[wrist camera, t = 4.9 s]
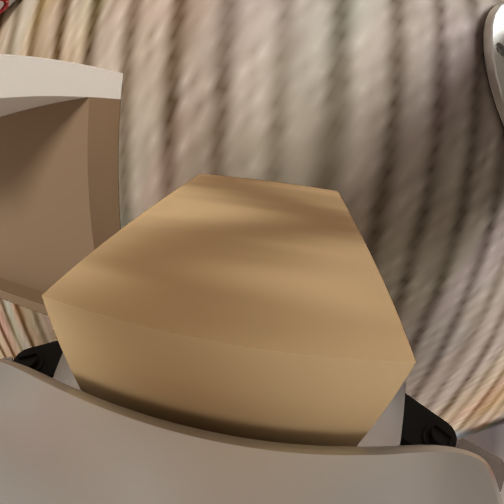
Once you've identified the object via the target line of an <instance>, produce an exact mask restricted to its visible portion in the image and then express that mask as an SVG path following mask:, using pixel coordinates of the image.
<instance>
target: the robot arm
mask: <svg viewBox="0 0 504 504" xmlns="http://www.w3.org/2000/svg"><path fill="white" fill-rule="evenodd" d="M483 44H484V56H485V64H486V70H487V74H488V79H489V83H490V88H491V91H492V94H493V97H494V101H495V104H496V108H497V110H498V113H499V115H500V118H501V120H502V123H503V126H504V2H502V3H500V4H497V5H495V6H494V7H493V8H492V9H491V10H490V11H489V13H488V16H487V18H486V20H485V26H484V33H483ZM405 387H406V383H405V381H404V382H403V384H402V386H401V387H400V389H399V390H398V392H397V393H396V395H395V396H394V398H393V399H392V400H391V402H390V403H389V405H388V406H387V408H386V409H385V410H384V412H383V413H382V414H381V416H380V417H379V419H378V420H377V421H376V422H375V424H374V425H373V426H372V428H371V429H370V430H369V432H368V433H367V434H366V435H365V437H364V438H363V439H362V440H361V441H360V443H359V444H358V445H357V446H356V447H350V446H316V445H301V444H289V443H279V442H271V441H263V440H256V439H249V438H243V437H237V436H231V435H225V434H220V433H215V432H210V431H206V430H201V429H197V428H193V427H189V426H184V425H181V424H177V423H173V422H169V421H166V420H162V419H159V418H155V417H152V416H149V415H146V414H142V413H139V412H136V411H133V410H130V409H127V408H124V407H121V406H119V405H116V404H113V403H111V402H108V401H105V400H103V399H100V398H98V397H95V396H93V395H90V394H88V393H85V392H83V391H81V389H80V387H79V385H78V383H77V381H76V379H75V377H74V375H73V373H72V371H71V369H70V367H69V365H68V363H67V360H66V358H65V356H64V354H63V351H62V349H61V347H60V344H59V342H58V341H55V342H51V343H47V344H44V345H40V346H36V347H32V348H29V349H26V350H24V351H22V352H21V353H19V354H18V355H17V356H16V357H15V359H13V358H12V357H8V358H2V359H0V504H503V503H502V498H501V494H500V491H501V489H502V485H503V482H504V463H503V461H502V460H501V459H500V458H499V457H497V456H496V455H494V454H491V453H490V452H488V451H486V450H484V449H482V448H480V447H479V446H476V445H475V444H473V443H471V442H469V441H467V440H465V439H464V438H461V439H460V440H457V437H456V434H455V431H454V430H453V428H452V427H451V426H450V425H449V424H448V423H447V422H445V421H444V420H443V419H441V418H440V417H438V416H437V415H435V414H434V413H433V412H431V411H430V410H428V409H427V408H425V407H424V406H423V405H421V404H420V403H418V402H417V401H416V400H414V399H413V398H411V397H410V396H409V395H407V394H406V393H405Z"/></svg>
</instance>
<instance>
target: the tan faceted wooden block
mask: <svg viewBox="0 0 504 504" xmlns="http://www.w3.org/2000/svg"><path fill="white" fill-rule="evenodd" d="M42 298H43V301H44V304H45V307H46V310H47V313H48V316H49V319H50V321H51V324H52V327H53V329H54V332H55V334H56V337H57V339H58V342H59V344H60V347H61V349H62V351H63V354H64V356H65V358H66V360H67V363H68V365H69V367H70V369H71V371H72V373H73V375H74V377H75V379H76V381H77V383H78V385H79V387H80V389H81V391H83V392H85V393H88V394H90V395H93V396H95V397H98V398H100V399H103V400H105V401H108V402H111V403H113V404H116V405H119V406H121V407H124V408H127V409H130V410H133V411H136V412H139V413H142V414H146V415H149V416H152V417H155V418H159V419H162V420H166V421H169V422H173V423H177V424H181V425H184V426H189V427H193V428H197V429H201V430H206V431H210V432H215V433H220V434H225V435H231V436H237V437H243V438H249V439H256V440H263V441H271V442H279V443H289V444H301V445H316V446H350V447H356V446H357V445H358V444H359V443H360V441H361V440H362V439H363V438H364V437H365V435H366V434H367V433H368V432H369V430H370V429H371V428H372V426H373V425H374V424H375V422H376V421H377V420H378V419H379V417H380V416H381V414H382V413H383V412H384V410H385V409H386V408H387V406H388V405H389V403H390V402H391V400H392V399H393V398H394V396H395V395H396V393H397V392H398V390H399V389H400V387H401V386H402V384H403V382H404V381H405V379H406V378H407V376H408V375H409V373H410V371H411V370H412V368H413V366H414V365H415V363H416V361H415V358H414V355H413V352H412V350H411V347H410V344H409V342H408V339H407V336H406V334H405V331H404V329H403V326H402V324H401V321H400V319H399V316H398V314H397V312H396V309H395V307H394V304H393V302H392V300H391V297H390V295H389V293H388V290H387V288H386V286H385V284H384V282H383V279H382V277H381V275H380V273H379V271H378V268H377V266H376V264H375V262H374V260H373V258H372V256H371V254H370V252H369V250H368V248H367V246H366V244H365V242H364V240H363V238H362V236H361V234H360V232H359V230H358V228H357V226H356V224H355V222H354V220H353V218H352V216H351V214H350V213H349V211H348V209H347V207H346V205H345V203H344V202H343V200H342V198H341V196H340V194H339V193H338V191H334V190H328V189H321V188H315V187H308V186H302V185H295V184H288V183H280V182H272V181H264V180H256V179H247V178H238V177H229V176H218V175H207V174H199V175H198V176H196V177H195V178H193V179H192V180H190V181H189V182H187V183H185V184H184V185H182V186H181V187H179V188H178V189H177V190H175V191H174V192H172V193H171V194H169V195H168V196H166V197H165V198H163V199H162V200H161V201H159V202H158V203H156V204H155V205H153V206H152V207H151V208H149V209H148V210H146V211H145V212H144V213H142V214H141V215H140V216H138V217H137V218H135V219H134V220H133V221H131V222H130V223H129V224H127V225H126V226H125V227H123V228H122V229H121V230H119V231H118V232H117V233H115V234H114V235H113V236H112V237H110V238H109V239H108V240H106V241H105V242H104V243H103V244H101V245H100V246H99V247H98V248H96V249H95V250H94V251H93V252H91V253H90V254H89V255H88V256H87V257H85V258H84V259H83V260H82V261H80V262H79V263H78V264H77V265H76V266H75V267H73V268H72V269H71V270H70V271H69V272H67V273H66V274H65V275H64V276H63V277H62V278H61V279H59V280H58V281H57V282H56V283H55V284H54V285H53V286H51V287H50V288H49V289H48V290H47V291H46V292H45V293H44V294H43V295H42Z"/></svg>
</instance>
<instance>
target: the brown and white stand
mask: <svg viewBox="0 0 504 504" xmlns="http://www.w3.org/2000/svg"><path fill="white" fill-rule="evenodd" d="M122 79H123V73H119V72H115V71H111V70H107V69H102V68H98V67H93V66H88V65H83V64H78V63H72V62H66V61H60V60H54V59H47V58H39V57H30V56H20V55H8V54H0V298H2V299H4V300H7V301H9V302H12V303H15V304H17V305H20V306H22V307H25V308H28V309H31V310H34V311H36V312H39V313H42V314H45V315H48V313H47V310H46V307H45V304H44V301H43V298H42V295H43V294H44V293H45V292H46V291H47V290H48V289H49V288H50V287H51V286H53V285H54V284H55V283H56V282H57V281H58V280H59V279H61V278H62V277H63V276H64V275H65V274H66V273H67V272H69V271H70V270H71V269H72V268H73V267H75V266H76V265H77V264H78V263H79V262H80V261H82V260H83V259H84V258H85V257H87V256H88V255H89V254H90V253H91V252H93V251H94V250H95V249H96V248H98V247H99V246H100V245H101V244H103V243H104V242H105V241H106V240H108V239H109V238H110V237H112V236H113V235H114V234H115V233H117V232H118V231H119V230H121V226H120V209H119V180H118V147H119V118H120V102H121V90H122Z"/></svg>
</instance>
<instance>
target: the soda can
mask: <svg viewBox="0 0 504 504" xmlns="http://www.w3.org/2000/svg"><path fill="white" fill-rule="evenodd" d="M15 1H16V0H0V14H1V13H3V12H4V11H5V10H6V9H7V8H8V7H9V6H10V5H12V4H13V3H14V2H15Z"/></svg>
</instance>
